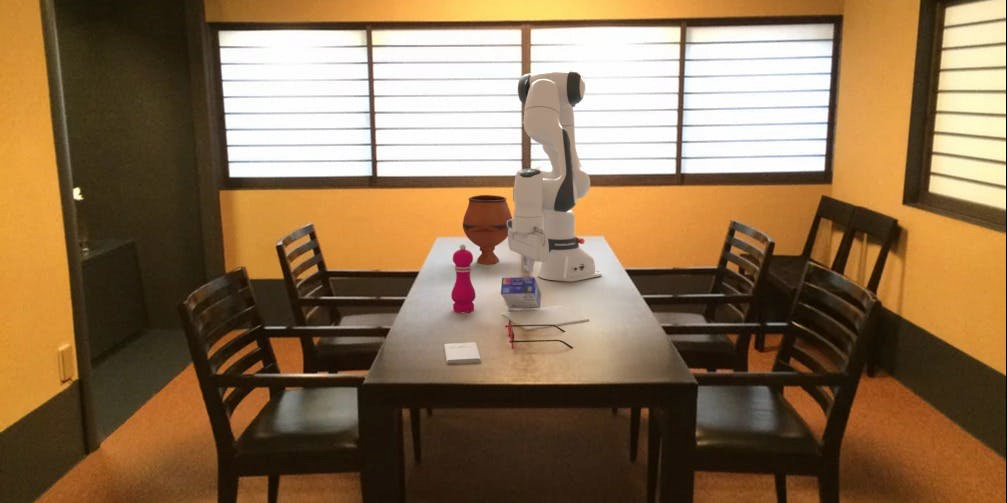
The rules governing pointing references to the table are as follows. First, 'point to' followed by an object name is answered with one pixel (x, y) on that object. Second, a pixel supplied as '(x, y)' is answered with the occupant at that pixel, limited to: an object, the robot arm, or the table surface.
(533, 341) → the glasses
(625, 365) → the table surface
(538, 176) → the robot arm
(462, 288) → the pepper mill
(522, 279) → the ink cartridge box
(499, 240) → the goblet
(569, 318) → the felt mat
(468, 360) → the external hard drive
